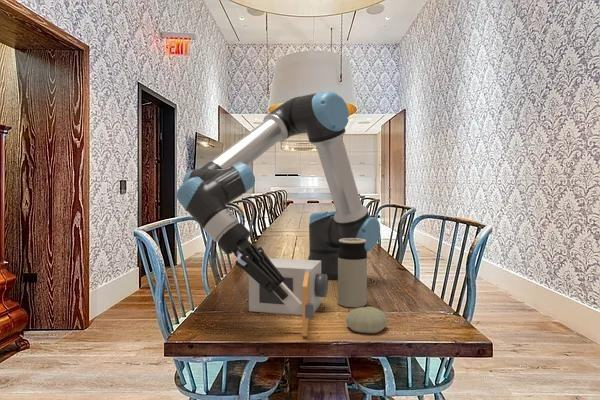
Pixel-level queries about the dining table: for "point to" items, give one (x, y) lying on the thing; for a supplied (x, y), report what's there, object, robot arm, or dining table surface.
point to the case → (289, 286)
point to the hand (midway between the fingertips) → (297, 307)
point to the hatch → (306, 304)
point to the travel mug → (352, 273)
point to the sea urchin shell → (366, 320)
